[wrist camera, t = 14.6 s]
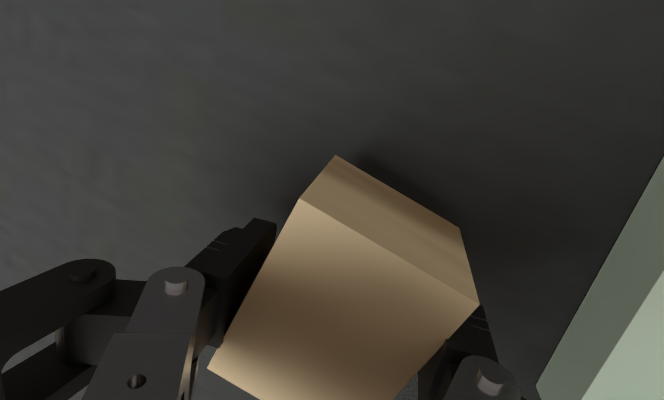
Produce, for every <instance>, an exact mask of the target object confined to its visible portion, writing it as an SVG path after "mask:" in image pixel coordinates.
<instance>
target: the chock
mask: <svg viewBox="0 0 664 400" xmlns="http://www.w3.org/2000/svg"><path fill="white" fill-rule="evenodd" d="M479 305H480V303H479V299H478V296H477V292H476V288H475V285H474V281H473V277H472V273H471V270H470V266H469V262H468V259H467V255H466V251H465V248H464V244H463V240H462V237H461V233H460V229H459V227H457V226H455V225H454V224H452V223H450V222H449V221H447V220H445V219H443V218H442V217H440V216H438V215H437V214H435V213H433V212H432V211H430V210H428V209H426V208H425V207H423V206H421V205H420V204H418V203H416V202H415V201H413V200H411V199H410V198H408V197H406V196H404V195H403V194H401V193H399V192H398V191H396V190H394V189H393V188H391V187H389V186H387V185H386V184H384V183H382V182H381V181H379V180H377V179H376V178H374V177H372V176H370V175H369V174H367V173H365V172H364V171H362V170H360V169H359V168H357V167H355V166H353V165H352V164H350V163H348V162H347V161H345V160H343V159H342V158H340V157H338V156H336V155H335V156H334V157H333V158H332V160H331V161H330V162H329V163H328V164H327V166H326V167H325V168H324V169H323V170H322V172H321V173H320V174H319V175H318V176H317V177H316V179H315V180H314V181H313V182H312V183H311V185H310V186H309V187H308V188H307V189H306V191H305V192H304V193H303V194H302V195H301V197H300V198H299V199H298V201H297V203H296V205H295V207H294V209H293V211H292V212H291V214H290V216H289V218H288V220H287V222H286V223H285V225H284V227H283V229H282V231H281V233H280V235H279V236H278V238H277V240H276V242H275V244H274V246H273V247H272V249H271V251H270V253H269V255H268V257H267V258H266V260H265V262H264V264H263V266H262V268H261V270H260V271H259V273H258V275H257V277H256V279H255V281H254V282H253V284H252V286H251V288H250V290H249V292H248V293H247V295H246V297H245V299H244V301H243V303H242V305H241V306H240V308H239V310H238V312H237V314H236V316H235V317H234V319H233V321H232V323H231V325H230V327H229V328H228V330H227V332H226V334H225V336H224V340H223V343H222V345H221V346H220V348H218V349H217V351H216V352H215V354H214V356H213V358H212V360H211V362H210V364H209V365H208V367H207V369H209V370H211V371H212V372H214V373H216V374H217V375H219V376H221V377H222V378H224V379H226V380H227V381H229V382H231V383H233V384H234V385H236V386H238V387H239V388H241V389H243V390H244V391H246V392H248V393H250V394H251V395H253V396H255V397H256V398H258V399H260V400H392V399H393V398H394V397H395V396H396V395H397V394H398V393H399V392H400V391H401V390H402V389H403V387H404V386H405V385H406V384H407V383H408V382H409V381H410V380H411V379H412V378H413V377H414V376H415V374H416V373H417V372H418V371H419V370H420V369H421V368H422V367H423V366H424V365H425V364H426V363H427V361H428V360H429V359H430V358H431V357H432V356H433V355H434V354H435V353H436V352H437V351H438V349H439V348H440V347H441V346H442V345H443V344H444V342H445V339H449V338H450V336H451V335H452V334H453V333H454V332H455V331H456V330H457V329H458V328H459V327H460V326H461V325H462V323H463V322H464V321H465V320H466V319H467V318H468V317H469V316H470V315H471V314H472V313H473V312H474V310H475V309H476V308H477V307H478V306H479Z"/></svg>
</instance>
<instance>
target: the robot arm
mask: <svg viewBox="0 0 664 400" xmlns="http://www.w3.org/2000/svg"><path fill="white" fill-rule="evenodd" d="M276 229H277V226H276V223H272V222H269V221H265V220H262V219H258V218H254V219H252V220H251V221H250V222H249V223H248V224H247V225H246V226H245V227H244V228H243V229H241V228H237V227H235V228H232V229H230V230H227V231H224V232H222V233H221V234H220V235H219V236H218V237H217V238H216V239H214V241H212V242H211V243H210V244H209V245H208V246H207V248H204V249H203V250H202V251H201V252H200V253H199V254H198V255H197V256H195V257H194V258H193V259H192V260H191V261H190V262H189V263H188V264H187V265H185V266H184V267H170V268H165V269H162V270H159V271H157V272H155V273H154V274H153V275H151V276H150V277H149V279H148V280H147V281H132V280H118V279H116V271H115V268H114V266H113V265H112V264H111V263H109V262H107V261H104V260H99V259H81V260H75V261H71V262H68V263H65V264H63V265H60V266H58V267H56V268H53V269H51V270H49V271H46V272H44V273H42V274H39V275H37V276H35V277H32V278H30V279H28V280H25V281H23V282H20V283H18V284H16V285H13V286H11V287H9V288H6V289H4V290H2V291H0V400H68V399H69V398H71V397H72V396H73V395H75V394H76V393H77V392H79V391H80V390H81V389H83V388H84V387H85V386H87V385H88V384H89V385H88V387H87V390H86V392H85V394H84V396H83V398H82V400H192V397H193V392H194V386H195V380H196V375H197V369H198V364H199V354H200V353H201V351H202V350H203V349H204V347H205V346H206V345H210V346H213V347H216V348H220V346H221V345H222V343H223V340H224V336H225V334H226V332H227V330H228V328H229V327H230V325H231V323H232V321H233V319H234V317H235V316H236V314H237V312H238V310H239V308H240V306H241V305H242V303H243V301H244V299H245V297H246V295H247V293H248V292H249V290H250V288H251V286H252V284H253V282H254V281H255V279H256V277H257V275H258V273H259V271H260V270H261V268H262V266H263V264H264V262H265V260H266V258H267V257H268V255H269V253H270V251H271V249H272V247H273V246H274V242H275V236H276ZM54 331H55V339H56V342H54V343H53V344H51V345H49V346H48V347H46V348H44V349H43V350H41V351H39V352H38V353H36V354H34V355H33V356H31V357H29V358H28V359H26V360H24V361H23V362H21V363H19V364H18V365H16V366H14V367H13V368H11V369H9V370H7V371H6V372H4V373H2V374H1V372H2V369H3V367H4V365H5V364H6V362H7V361H8V360H9V359H10V358H11V357H12V356H13V355H15V354H16V353H17V352H19V351H21V350H22V349H24V348H26V347H28V346H29V345H31V344H33V343H35V342H36V341H38V340H40V339H42V338H43V337H45V336H47V335H49V334H50V333H52V332H54ZM418 400H526V399H524V398H523V397H522V396H521V389H520V386H519V384H518V382H517V381H516V379H515V378H514V377H513V375H512V374H511V373H510V372H509V371H508V370H506V369H505V368H504V367H503V366H501V365H500V364H499V362H498V358H497V355H496V351H495V348H494V344H493V341H492V337H491V334H490V331H489V327H488V323H487V321H486V316H485V312H484V309H483V307H482V305H481V304H480V305H479V306H478V307H477V308H476V309H475V310H474V312H473V313H472V314H471V315H470V316H469V317H468V318H467V319H466V320H465V321H464V322H463V323H462V325H461V326H460V327H459V328H458V329H457V330H456V331H455V332H454V333H453V334H452V335H451V336H450V338H449V339H445V342H444V344H443V345H442V346H441V347H440V348H439V349H438V351H437V352H436V353H435V354H434V355H433V356H432V357H431V358H430V359H429V360H428V361H427V363H426V364H425V365H424V366H423V367H422V368H421V369H420V370H419V371H418Z"/></svg>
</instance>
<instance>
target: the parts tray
mask: <svg viewBox="0 0 664 400" xmlns="http://www.w3.org/2000/svg"><path fill="white" fill-rule="evenodd" d="M536 388H537V390H538V393H539V395H540V398H541V400H664V157H663V158H662V160H661V162H660V164H659V165H658V167H657V169H656V171H655V173H654V174H653V176H652V178H651V180H650V182H649V183H648V185H647V187H646V189H645V190H644V192H643V194H642V196H641V198H640V199H639V201H638V203H637V205H636V207H635V208H634V210H633V212H632V214H631V216H630V217H629V219H628V221H627V223H626V224H625V226H624V228H623V230H622V232H621V233H620V235H619V237H618V239H617V241H616V242H615V244H614V246H613V248H612V250H611V251H610V253H609V255H608V257H607V258H606V260H605V262H604V264H603V266H602V267H601V269H600V271H599V273H598V275H597V276H596V278H595V280H594V282H593V284H592V285H591V287H590V289H589V291H588V292H587V294H586V296H585V298H584V300H583V301H582V303H581V305H580V307H579V309H578V310H577V312H576V314H575V316H574V318H573V319H572V321H571V323H570V325H569V326H568V328H567V330H566V332H565V334H564V335H563V337H562V339H561V341H560V343H559V344H558V346H557V348H556V350H555V352H554V353H553V355H552V357H551V359H550V360H549V362H548V364H547V366H546V368H545V369H544V371H543V373H542V375H541V377H540V378H539V380H538V382H537V384H536Z"/></svg>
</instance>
